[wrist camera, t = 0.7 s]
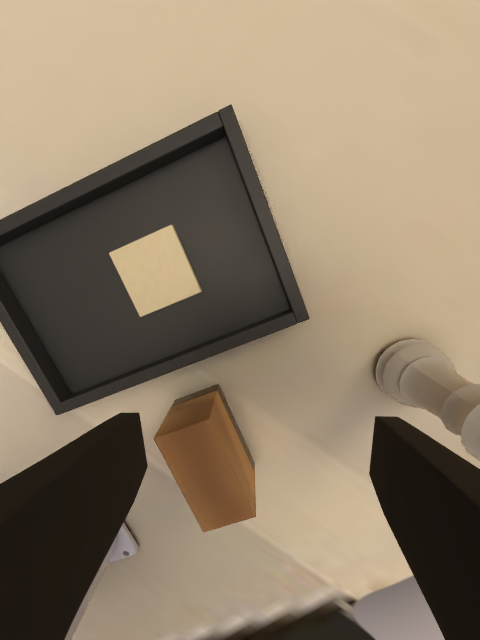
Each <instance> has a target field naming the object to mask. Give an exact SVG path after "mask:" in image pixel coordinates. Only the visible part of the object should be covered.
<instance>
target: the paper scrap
mask: <svg viewBox="0 0 480 640" xmlns="http://www.w3.org/2000/svg"><path fill="white" fill-rule="evenodd" d="M109 255H110V257H111V259H112V261H113V263H114V265H115V267H116V269H117V271H118V273H119V275H120V277H121V279H122V281H123V283H124V285H125V287H126V289H127V291H128V293H129V295H130V297H131V299H132V301H133V303H134V306H135V308H136V310H137V312H138V314H139V316H140V317H142V316H145V315H147V314H150V313H152V312H154V311H157V310H159V309H162V308H164V307H166V306H169V305H171V304H174V303H176V302H178V301H181V300H183V299H186V298H188V297H190V296H193V295H195V294H198V293H200V292H202V290H201V287H200V285H199V283H198V280H197V278H196V276H195V274H194V271H193V269H192V267H191V264H190V262H189V260H188V258H187V255H186V253H185V251H184V248H183V246H182V244H181V242H180V239H179V237H178V235H177V232H176V230H175V228H174V226H173V225H169V226H167V227H165V228H163V229H160V230H158V231H156V232H154V233H152V234H149V235H147V236H145V237H143V238H141V239H138V240H136V241H134V242H132V243H130V244H127V245H125V246H123V247H121V248H119V249H116V250H114V251H112V252H110V253H109Z"/></svg>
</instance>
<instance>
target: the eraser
mask: <svg viewBox="0 0 480 640" xmlns="http://www.w3.org/2000/svg"><path fill="white" fill-rule="evenodd" d="M154 440H155V442H156V444H157V446H158V448H159V450H160V452H161V453H162V455H163V457H164V459H165V461H166V463H167V465H168V467H169V468H170V470H171V472H172V474H173V476H174V478H175V480H176V482H177V484H178V485H179V487H180V489H181V491H182V493H183V495H184V497H185V499H186V501H187V502H188V504H189V506H190V508H191V510H192V512H193V514H194V516H195V518H196V519H197V521H198V523H199V525H200V527H201V529H202V531H203V532H206V531H210V530H213V529H216V528H220V527H223V526H226V525H230V524H233V523H236V522H240V521H243V520H246V519H250V518H253V517H256V497H255V463H254V461H253V459H252V456H251V454H250V452H249V450H248V448H247V445H246V443H245V441H244V439H243V437H242V434H241V432H240V430H239V428H238V426H237V423H236V421H235V419H234V417H233V415H232V412H231V410H230V408H229V406H228V404H227V402H226V399H225V397H224V395H223V393H222V391H221V388H220V386H219V385H215V386H213V387H210V388H207V389H204V390H202V391H199V392H196V393H194V394H191V395H188V396H185V397H183V398H180V399H177V400H175V401H174V403H173V405H172V407H171V408H170V410H169V412H168V414H167V416H166V417H165V419H164V421H163V423H162V424H161V426H160V428H159V430H158V432H157V433H156V435H155V437H154Z"/></svg>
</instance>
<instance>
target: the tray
mask: <svg viewBox="0 0 480 640" xmlns="http://www.w3.org/2000/svg"><path fill="white" fill-rule="evenodd" d="M169 225H173V226H174V228H175V230H176V232H177V235H178V237H179V239H180V242H181V244H182V246H183V248H184V251H185V253H186V255H187V258H188V260H189V262H190V264H191V267H192V269H193V271H194V274H195V276H196V278H197V280H198V283H199V285H200V287H201V290H202V292H200V293H198V294H195V295H193V296H190V297H188V298H186V299H183V300H181V301H178V302H176V303H174V304H171V305H169V306H166V307H164V308H162V309H159V310H157V311H154V312H152V313H150V314H147V315H145V316H142V317H140V316H139V314H138V312H137V310H136V308H135V306H134V303H133V301H132V299H131V297H130V295H129V293H128V291H127V289H126V287H125V285H124V283H123V281H122V279H121V277H120V275H119V273H118V271H117V269H116V267H115V265H114V263H113V261H112V259H111V257H110V255H109V253H110V252H112V251H114V250H116V249H119V248H121V247H123V246H125V245H127V244H130V243H132V242H134V241H136V240H138V239H141V238H143V237H145V236H147V235H149V234H152V233H154V232H156V231H158V230H160V229H163V228H165V227H167V226H169ZM308 319H309V316H308V313H307V310H306V307H305V305H304V302H303V299H302V296H301V294H300V291H299V288H298V285H297V283H296V280H295V277H294V274H293V272H292V269H291V266H290V263H289V261H288V258H287V255H286V252H285V250H284V247H283V244H282V241H281V239H280V236H279V233H278V231H277V228H276V225H275V222H274V220H273V217H272V214H271V211H270V209H269V206H268V203H267V200H266V198H265V195H264V192H263V189H262V187H261V184H260V181H259V178H258V176H257V173H256V170H255V167H254V165H253V162H252V159H251V156H250V154H249V151H248V148H247V145H246V143H245V140H244V137H243V135H242V132H241V129H240V126H239V124H238V121H237V118H236V115H235V113H234V110H233V107H232V105H229V106H227V107H225V108H223V109H221V110H219V111H218V112H215V113H213V114H211V115H209V116H207V117H205V118H203V119H201V120H199V121H197V122H195V123H193V124H191V125H189V126H187V127H185V128H183V129H181V130H179V131H177V132H175V133H173V134H171V135H169V136H167V137H165V138H163V139H161V140H159V141H157V142H155V143H153V144H151V145H149V146H147V147H145V148H143V149H141V150H139V151H137V152H135V153H133V154H131V155H129V156H127V157H125V158H123V159H121V160H119V161H117V162H115V163H113V164H111V165H109V166H107V167H105V168H103V169H101V170H99V171H97V172H95V173H93V174H91V175H89V176H87V177H85V178H83V179H81V180H79V181H77V182H75V183H73V184H71V185H69V186H67V187H65V188H63V189H61V190H59V191H57V192H55V193H53V194H51V195H49V196H47V197H45V198H43V199H41V200H39V201H37V202H35V203H33V204H31V205H29V206H27V207H25V208H23V209H21V210H19V211H17V212H15V213H13V214H11V215H9V216H7V217H5V218H3V219H1V220H0V322H1V324H2V325H3V327H4V329H5V330H6V332H7V334H8V335H9V337H10V339H11V340H12V342H13V344H14V345H15V347H16V349H17V350H18V352H19V354H20V355H21V357H22V359H23V360H24V362H25V364H26V365H27V367H28V369H29V370H30V372H31V374H32V375H33V377H34V379H35V380H36V382H37V384H38V385H39V387H40V389H41V390H42V392H43V394H44V395H45V397H46V399H47V400H48V402H49V404H50V405H51V407H52V409H53V410H54V412H55V414H56V415H59V414H62V413H64V412H67V411H70V410H72V409H75V408H78V407H80V406H83V405H85V404H88V403H91V402H93V401H96V400H99V399H101V398H104V397H106V396H109V395H112V394H114V393H117V392H119V391H122V390H125V389H127V388H130V387H133V386H135V385H138V384H140V383H143V382H146V381H148V380H151V379H153V378H156V377H159V376H161V375H164V374H167V373H169V372H172V371H174V370H177V369H180V368H182V367H185V366H188V365H190V364H193V363H195V362H198V361H201V360H203V359H206V358H208V357H211V356H214V355H216V354H219V353H222V352H224V351H227V350H229V349H232V348H235V347H237V346H240V345H242V344H245V343H248V342H250V341H253V340H256V339H258V338H261V337H263V336H266V335H269V334H271V333H274V332H277V331H279V330H282V329H284V328H287V327H290V326H292V325H295V324H297V323H300V322H303V321H305V320H308Z"/></svg>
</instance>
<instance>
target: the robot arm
mask: <svg viewBox="0 0 480 640" xmlns="http://www.w3.org/2000/svg"><path fill="white" fill-rule="evenodd" d="M146 469H147V460H146V454H145V447H144V441H143V434H142V428H141V422H140V415H139V413H119V414H118V415H116V416H114V417H112V418H110V419H108V420H107V421H105V422H103V423H102V424H100V425H98V426H97V427H95V428H93V429H92V430H90V431H88V432H87V433H85V434H83V435H82V436H80V437H79V438H77V439H75V440H74V441H72V442H70V443H69V444H67V445H66V446H64V447H62V448H61V449H59V450H57V451H56V452H54V453H53V454H51V455H49V456H48V457H46V458H44V459H43V460H41V461H39V462H37V463H36V464H34V465H32V466H30V467H29V468H27V469H25V470H24V471H22V472H20V473H18V474H17V475H15V476H13V477H11V478H10V479H8V480H6V481H5V482H3V483H1V484H0V640H71V639H72V636H73V634H74V632H75V630H76V628H77V626H78V624H79V622H80V620H81V618H82V616H83V614H84V611H85V609H86V607H87V605H88V603H89V601H90V599H91V597H92V595H93V593H94V591H95V589H96V586H97V584H98V582H99V580H100V578H101V576H102V574H103V572H104V570H105V568H106V566H107V564H108V563H111V562H114V561H117V560H121V559H124V558H128V557H131V556H134V555H136V554H137V551H138V545H137V543H136V542H135V540H134V538H133V537H132V535H131V533H130V532H129V530H128V528H127V527H126V525H125V523H124V520H125V518H126V517H127V515H128V513H129V511H130V509H131V507H132V505H133V503H134V500H135V498H136V495H137V493H138V490H139V488H140V485H141V483H142V480H143V477H144V475H145V472H146ZM369 474H370V477H371V480H372V483H373V486H374V489H375V491H376V494H377V497H378V500H379V502H380V505H381V508H382V510H383V513H384V515H385V517H386V519H387V521H388V523H389V525H390V528H391V530H392V532H393V534H394V536H395V538H396V540H397V542H398V544H399V546H400V548H401V550H402V552H403V554H404V556H405V558H406V560H407V562H408V564H409V567H410V569H411V571H412V573H413V575H414V577H415V579H416V580H417V583H418V585H419V587H420V589H421V591H422V593H423V595H424V597H425V599H426V601H427V603H428V605H429V607H430V609H431V611H432V613H433V615H434V617H435V619H436V621H437V623H438V625H439V628H440V630H441V632H442V634H443V636H444V638H445V640H480V469H479V468H477V467H476V466H474V465H472V464H471V463H469V462H468V461H466V460H465V459H463V458H461V457H460V456H458V455H457V454H455V453H454V452H452V451H451V450H449V449H448V448H446V447H445V446H443V445H441V444H440V443H438V442H437V441H435V440H434V439H432V438H431V437H429V436H428V435H426V434H425V433H423V432H422V431H420V430H418V429H417V428H415V427H414V426H412V425H411V424H409V423H407V422H406V421H404V420H402V419H400V418H399V417H383V416H375V424H374V434H373V443H372V453H371V462H370V472H369Z"/></svg>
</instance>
